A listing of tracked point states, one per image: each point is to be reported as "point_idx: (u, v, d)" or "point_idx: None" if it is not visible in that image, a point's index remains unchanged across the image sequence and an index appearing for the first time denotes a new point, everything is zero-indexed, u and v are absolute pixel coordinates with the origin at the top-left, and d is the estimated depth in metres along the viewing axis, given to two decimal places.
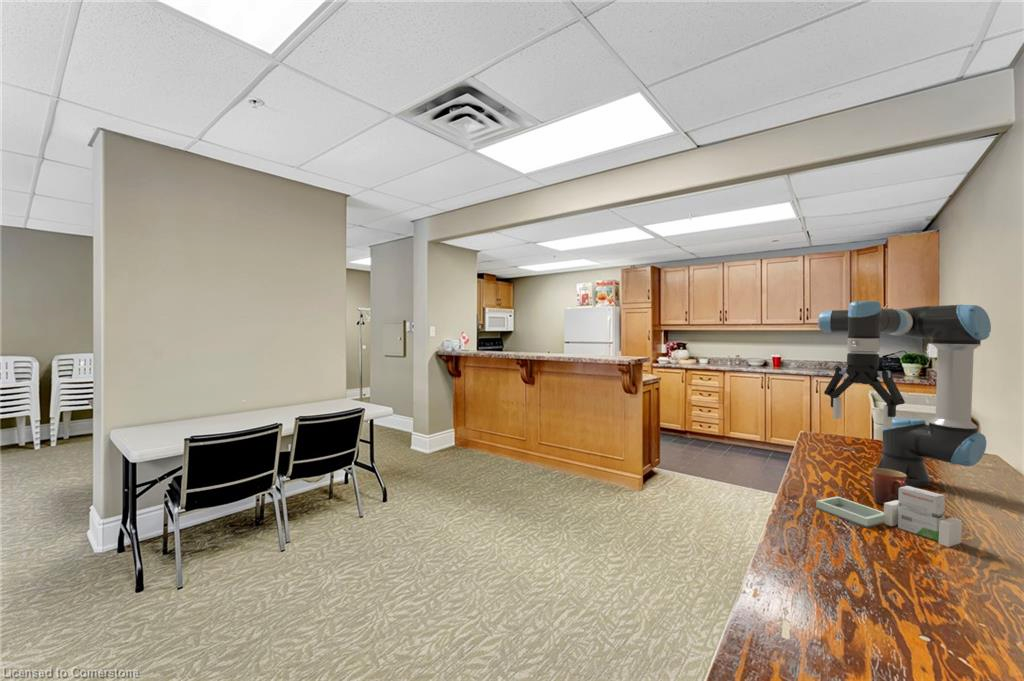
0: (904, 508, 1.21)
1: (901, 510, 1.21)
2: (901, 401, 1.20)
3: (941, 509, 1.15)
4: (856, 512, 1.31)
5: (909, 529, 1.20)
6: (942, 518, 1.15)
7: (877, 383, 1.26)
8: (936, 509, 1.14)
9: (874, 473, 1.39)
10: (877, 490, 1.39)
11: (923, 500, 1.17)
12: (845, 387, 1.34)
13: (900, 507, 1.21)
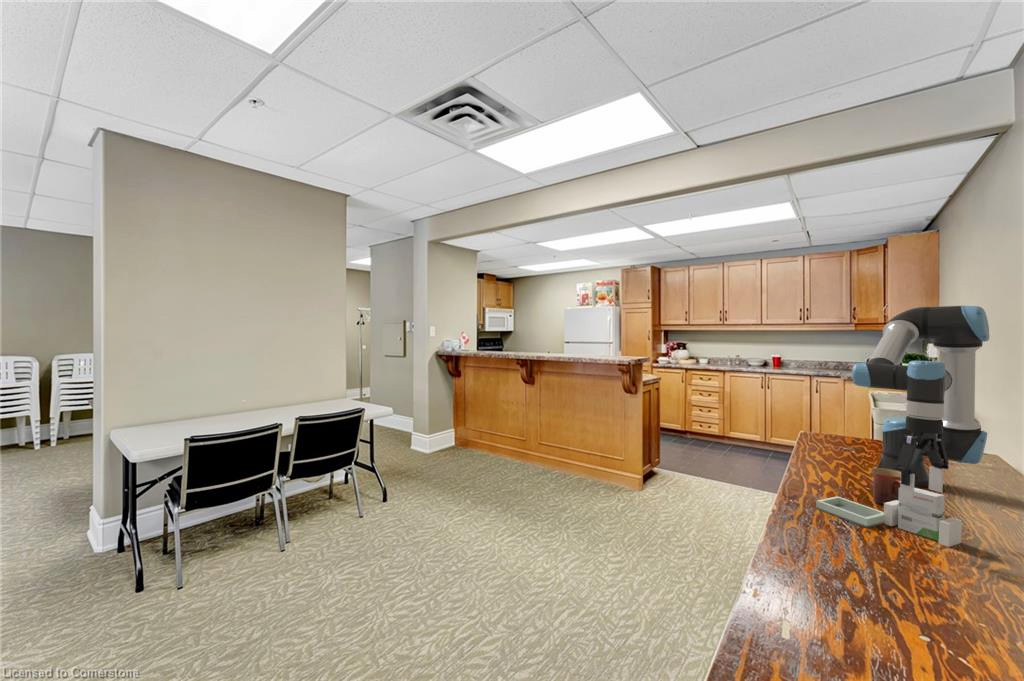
0: (904, 508, 1.21)
1: (901, 510, 1.21)
2: (900, 467, 1.15)
3: (941, 509, 1.15)
4: (856, 512, 1.31)
5: (909, 529, 1.20)
6: (942, 518, 1.15)
7: None
8: (936, 509, 1.14)
9: (874, 473, 1.39)
10: (877, 490, 1.39)
11: (923, 500, 1.17)
12: (931, 455, 1.20)
13: (900, 507, 1.21)
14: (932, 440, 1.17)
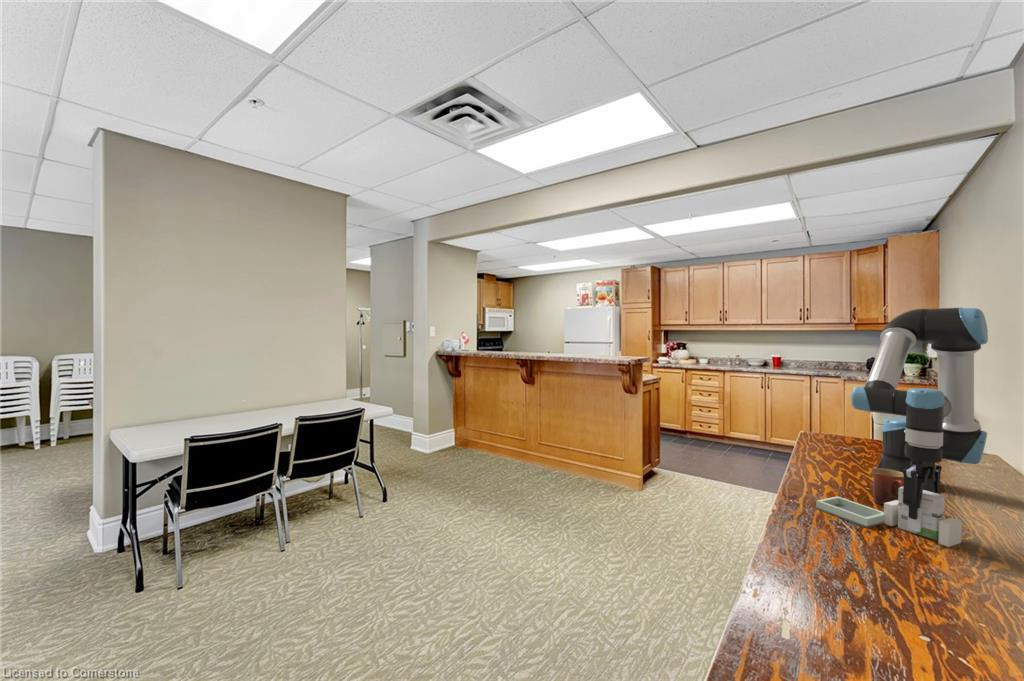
0: (903, 508, 1.21)
1: (901, 510, 1.21)
2: (907, 503, 1.17)
3: (941, 509, 1.15)
4: (856, 512, 1.31)
5: (909, 529, 1.20)
6: (942, 518, 1.15)
7: None
8: (936, 509, 1.14)
9: (874, 473, 1.39)
10: (877, 490, 1.39)
11: (923, 500, 1.17)
12: (925, 486, 1.20)
13: (900, 507, 1.21)
14: (931, 467, 1.18)
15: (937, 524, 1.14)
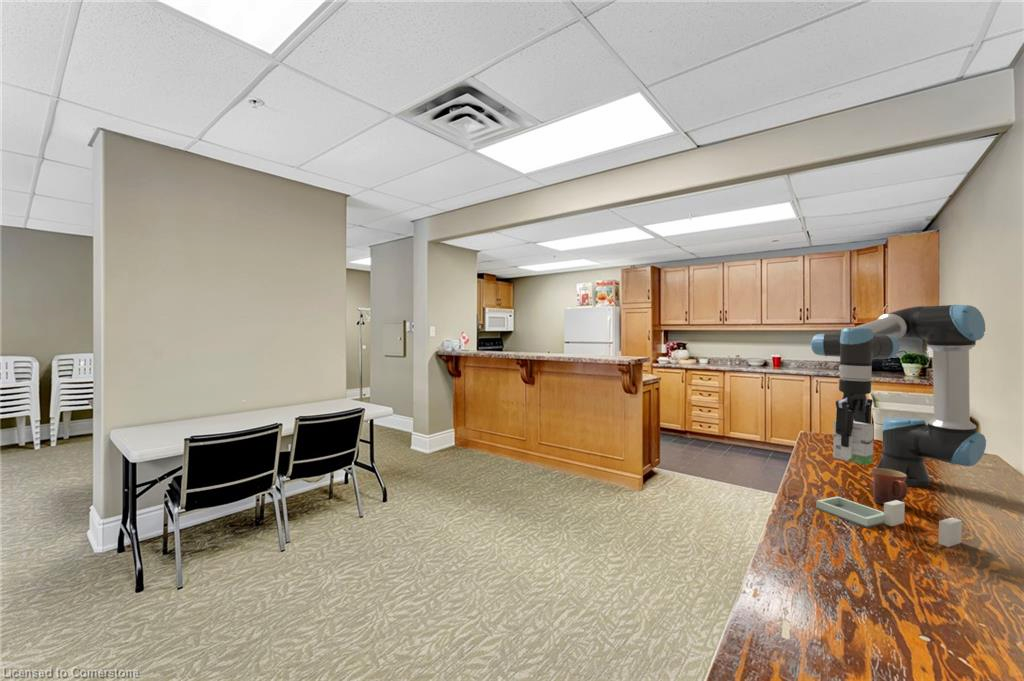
0: (838, 438, 1.31)
1: (836, 440, 1.31)
2: (839, 431, 1.27)
3: (869, 437, 1.26)
4: (856, 512, 1.31)
5: (842, 457, 1.30)
6: (870, 444, 1.26)
7: (847, 412, 1.28)
8: (865, 436, 1.25)
9: (874, 473, 1.39)
10: (877, 490, 1.39)
11: (854, 429, 1.27)
12: (857, 418, 1.30)
13: (835, 438, 1.32)
14: (862, 399, 1.28)
15: (865, 450, 1.25)
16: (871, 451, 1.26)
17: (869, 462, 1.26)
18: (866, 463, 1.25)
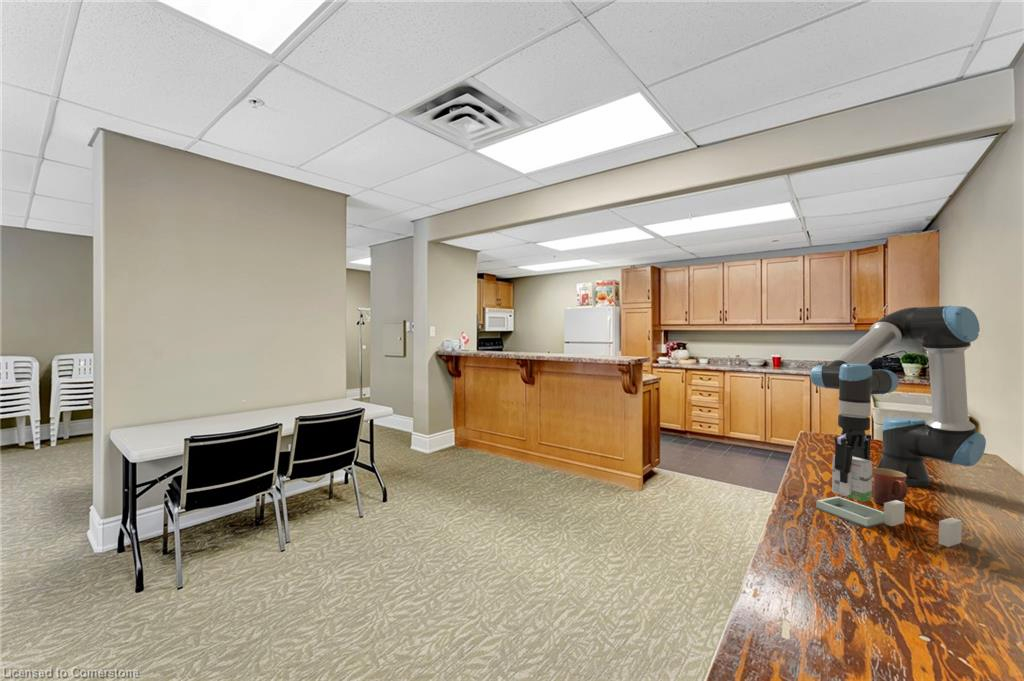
0: (837, 473, 1.31)
1: (834, 475, 1.32)
2: (838, 468, 1.27)
3: (868, 473, 1.26)
4: (856, 512, 1.31)
5: (841, 492, 1.30)
6: (869, 481, 1.26)
7: (846, 448, 1.28)
8: (863, 473, 1.25)
9: (874, 473, 1.39)
10: (877, 490, 1.39)
11: (853, 465, 1.27)
12: (856, 453, 1.30)
13: (834, 473, 1.32)
14: (861, 436, 1.28)
15: (864, 487, 1.25)
16: (870, 487, 1.26)
17: (868, 499, 1.26)
18: (865, 500, 1.25)
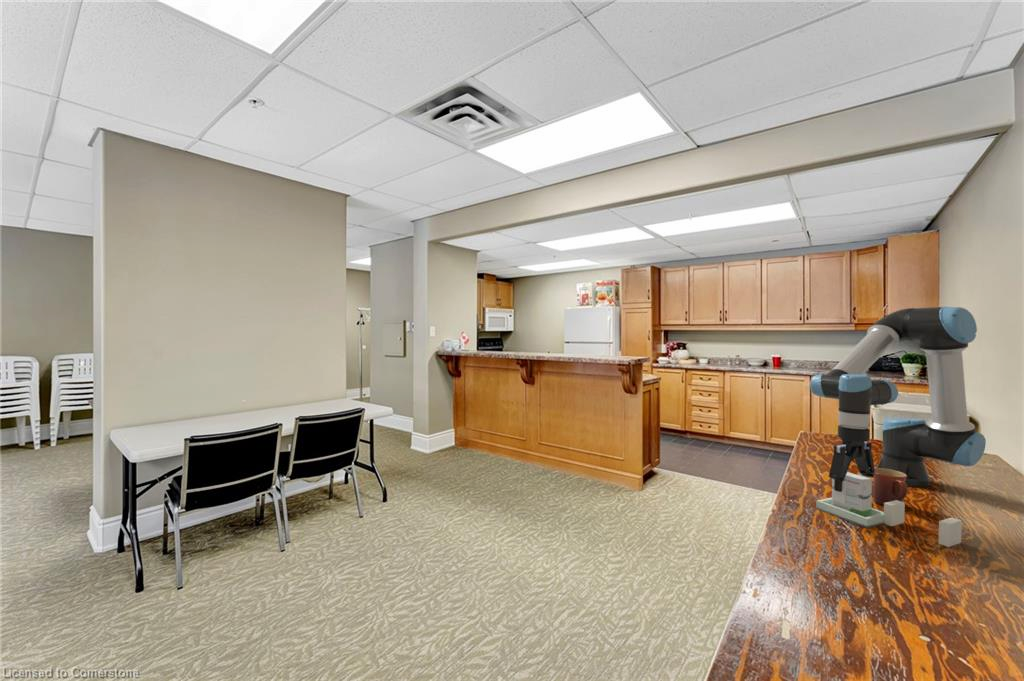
0: None
1: None
2: (832, 476, 1.27)
3: (867, 491, 1.26)
4: None
5: None
6: (868, 499, 1.26)
7: (844, 457, 1.28)
8: (862, 491, 1.25)
9: (874, 473, 1.39)
10: (877, 490, 1.39)
11: (852, 483, 1.28)
12: (859, 462, 1.31)
13: (833, 490, 1.32)
14: (860, 447, 1.28)
15: (863, 505, 1.25)
16: (869, 506, 1.26)
17: None
18: None
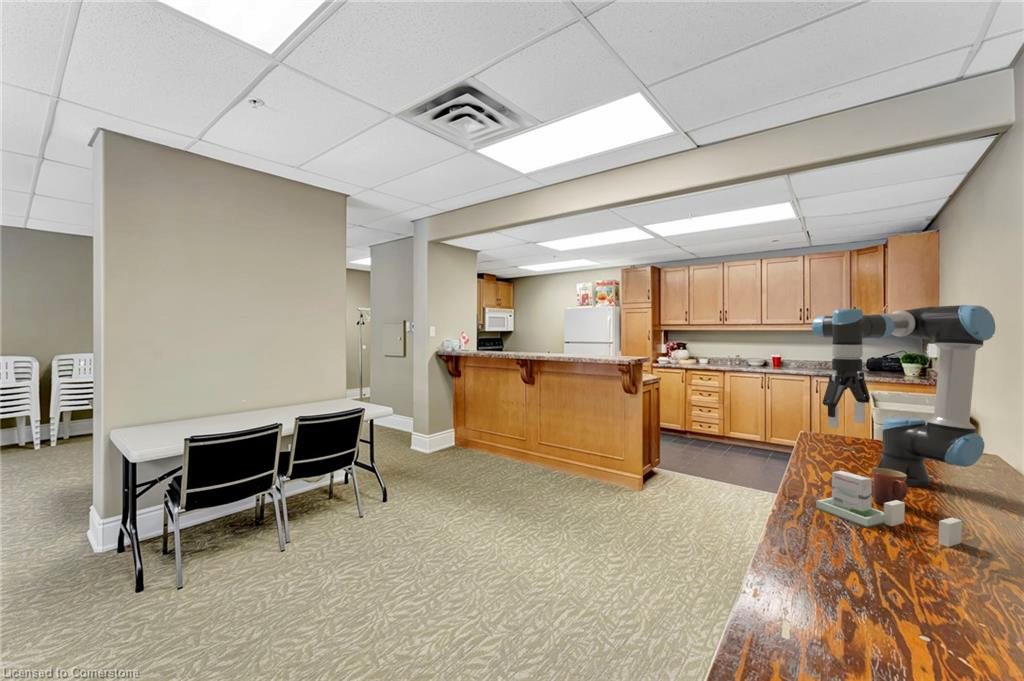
0: (836, 491, 1.31)
1: (834, 493, 1.32)
2: (826, 402, 1.32)
3: (867, 491, 1.26)
4: None
5: None
6: (868, 499, 1.26)
7: (838, 386, 1.34)
8: (862, 491, 1.25)
9: (874, 473, 1.39)
10: (877, 490, 1.39)
11: (851, 483, 1.27)
12: (854, 391, 1.38)
13: (833, 490, 1.32)
14: (854, 377, 1.35)
15: (863, 505, 1.25)
16: (869, 506, 1.26)
17: None
18: None
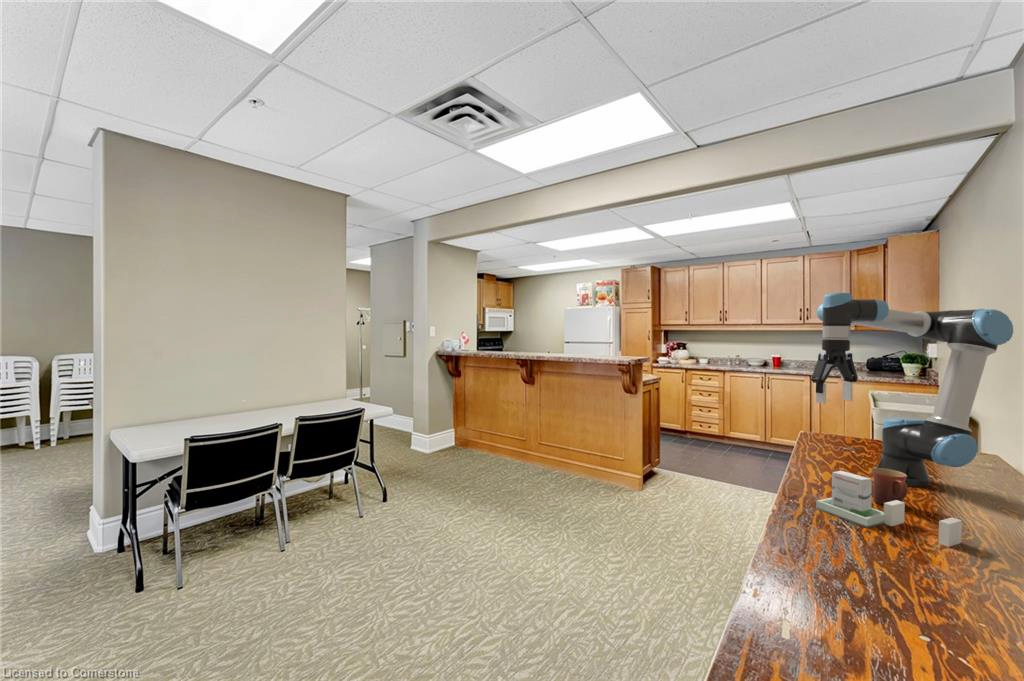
0: (836, 491, 1.31)
1: (834, 493, 1.32)
2: (814, 378, 1.42)
3: (867, 491, 1.26)
4: None
5: None
6: (868, 499, 1.26)
7: (826, 365, 1.44)
8: (862, 491, 1.25)
9: (874, 473, 1.39)
10: (877, 490, 1.39)
11: (851, 483, 1.27)
12: (842, 371, 1.47)
13: (833, 490, 1.32)
14: (842, 357, 1.44)
15: (863, 505, 1.25)
16: (869, 506, 1.26)
17: None
18: None
